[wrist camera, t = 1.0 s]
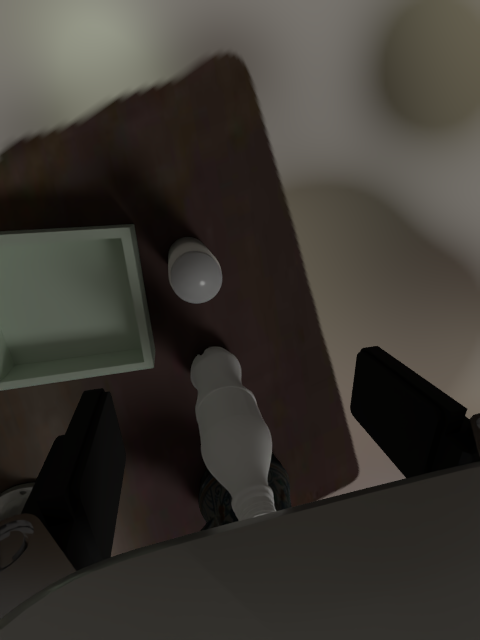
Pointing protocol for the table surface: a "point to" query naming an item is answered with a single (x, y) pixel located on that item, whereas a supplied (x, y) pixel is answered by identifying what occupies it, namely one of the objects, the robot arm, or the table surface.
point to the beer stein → (219, 499)
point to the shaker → (193, 270)
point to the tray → (72, 305)
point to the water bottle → (232, 433)
